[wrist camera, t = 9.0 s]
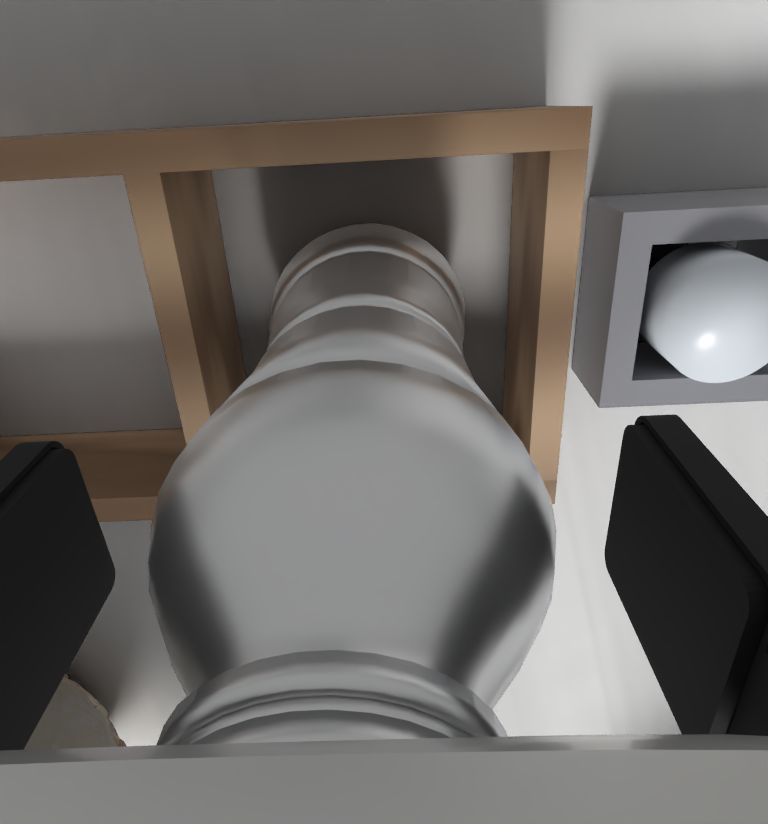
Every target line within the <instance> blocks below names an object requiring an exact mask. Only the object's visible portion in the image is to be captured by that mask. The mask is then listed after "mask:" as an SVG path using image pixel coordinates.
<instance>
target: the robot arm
mask: <svg viewBox="0 0 768 824" xmlns="http://www.w3.org/2000/svg"><path fill="white" fill-rule="evenodd" d="M605 562H606V567H607V570H608V573H609V575H610V577H611V579H612V581H613V584H614V586H615V588H616V590H617V592H618V595H619V597H620V599H621V601H622V603H623V606H624V608H625V610H626V612H627V614H628V616H629V619H630V621H631V623H632V625H633V627H634V630H635V632H636V634H637V636H638V638H639V641H640V643H641V645H642V647H643V649H644V652H645V654H646V656H647V658H648V660H649V663H650V665H651V667H652V669H653V671H654V674H655V676H656V678H657V680H658V682H659V685H660V687H661V689H662V691H663V693H664V696H665V698H666V700H667V702H668V704H669V707H670V709H671V711H672V713H673V715H674V718H675V720H676V722H677V724H678V726H679V729H680V731H681V733H682V735H567V736H519V737H472V738H424V739H380V740H342V741H303V742H265V743H229V744H193V745H157V746H126V747H96V748H65V749H34V750H24V748H25V746H26V744H27V742H28V741H29V739H30V737H31V735H32V733H33V732H34V730H35V728H36V726H37V724H38V723H39V721H40V719H41V717H42V715H43V713H44V712H45V710H46V708H47V706H48V704H49V703H50V701H51V699H52V697H53V695H54V693H55V692H56V690H57V688H58V686H59V684H60V683H61V681H62V679H63V677H64V675H65V673H66V672H67V670H68V668H69V666H70V664H71V663H72V661H73V659H74V657H75V655H76V653H77V652H78V650H79V648H80V646H81V644H82V643H83V641H84V639H85V637H86V635H87V633H88V632H89V630H90V628H91V626H92V624H93V623H94V621H95V619H96V617H97V615H98V614H99V612H100V610H101V608H102V606H103V604H104V603H105V601H106V599H107V597H108V595H109V594H110V592H111V590H112V588H113V585H114V581H115V568H114V565H113V562H112V559H111V556H110V553H109V550H108V548H107V545H106V542H105V539H104V536H103V533H102V531H101V528H100V525H99V522H98V519H97V516H96V514H95V511H94V508H93V505H92V502H91V499H90V497H89V494H88V491H87V488H86V485H85V482H84V480H83V477H82V474H81V471H80V468H79V465H78V463H77V460H76V457H75V455H74V453H73V452H72V451H71V450H70V449H65V448H64V446H63V445H62V444H61V443H60V442H57V441H40V442H22V443H19V444H18V445H16V446H15V447H14V448H13V449H12V450H11V451H10V452H9V453H8V454H7V455H6V456H4V457H3V458H2V459H1V460H0V824H768V516H767V515H766V514H765V513H764V512H763V511H762V510H761V508H760V507H759V506H758V505H757V504H756V503H755V502H754V501H753V499H752V498H751V497H750V496H749V495H748V494H747V493H746V492H745V490H744V489H743V488H742V487H741V486H740V485H739V484H738V483H737V481H736V480H735V479H734V478H733V477H732V476H731V475H730V473H729V472H728V471H727V470H726V469H725V468H724V467H723V466H722V464H721V463H720V462H719V461H718V460H717V459H716V458H715V457H714V455H713V454H712V453H711V452H710V451H709V450H708V449H707V448H706V446H705V445H704V444H703V443H702V442H701V441H700V440H699V438H698V437H697V436H696V435H695V434H694V433H693V432H692V431H691V429H690V428H689V427H688V426H687V425H686V424H685V423H684V422H683V420H682V419H681V418H680V417H678V416H677V415H654V416H640V417H638V418H637V420H636V422H635V425H628V426H627V427H626V428H625V430H624V434H623V440H622V446H621V453H620V459H619V465H618V471H617V477H616V484H615V490H614V496H613V502H612V508H611V515H610V521H609V527H608V533H607V540H606V546H605Z"/></svg>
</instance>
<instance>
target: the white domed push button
mask: <svg viewBox="0 0 768 824" xmlns="http://www.w3.org/2000/svg"><path fill="white" fill-rule="evenodd" d="M639 332H640V334H641V335H642V337H643V338H644V339H645V340H646V341H647V342H648V343H649V344H650V345H651V346H652V347H653V348H654V349H655V350H656V351H658V352H659V353H660V354H661V355H662V356H663V357H664V358H665V359H666V360H667V361H669V362H670V363H671V364H672V365H673V366H674V367H675V368H676V369H677V370H678V371H680V372H681V373H682V374H684V375H685V376H687V377H689V378H691V379H693V380H696V381H700V382H706V383H723V382H729V381H734V380H737V379H740V378H743V377H745V376H747V375H750V374H751V373H753V372H755V371H757V370H759V369H760V368H761V367H763V366H764V365H766V364H767V363H768V262H767V261H765V260H762V259H760V258H757V257H755V256H752V255H750V254H748V253H745V252H743V251H740V250H738V249H735V248H733V247H731V246H728V245H725V244H722V243H718V242H696V243H692V244H688V245H686V246H683V247H680V248H678V249H676V250H674V251H672V252H671V253H669V254H668V255H666V256H665V257H663V258H662V259H661V260H660V261H659V262H658V263H657V264H656V265H655V266H654V267H653V268H652V269H651V270H650V271H649V272H648V276H647V283H646V289H645V296H644V303H643V309H642V316H641V322H640V329H639Z"/></svg>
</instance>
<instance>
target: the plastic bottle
mask: <svg viewBox="0 0 768 824" xmlns="http://www.w3.org/2000/svg"><path fill="white" fill-rule="evenodd" d="M269 336H270V339H269V344H268V348H267V351H266V352H265V354H264V355H263V357H262V358H261V360H260V362H259V363H258V365H257V366H256V368H255V370H254V371H253V373H252V374H251V375H250V376H249V377H248V378H247V379H246V380H245V381H244V382H243V383H242V384H241V385H240V386H239V388H238V389H237V390H236V391H235V392H234V393H233V394H232V395H231V396H230V397H229V398H228V399H227V400H226V401H225V402H224V403H223V404H222V405H221V406H220V407H219V408H218V409H217V410H216V411H215V412H214V413H213V414H212V415H211V416H210V418H209V419H208V420H207V421H206V422H205V423H204V424H203V426H202V427H201V428H200V429H199V430H198V431H197V432H196V433H195V435H194V436H193V437H192V439H191V440H190V442H189V443H188V444H187V446H186V447H185V449H184V450H183V451H182V453H181V454H180V455H179V456H178V458H177V459H176V460H175V462H174V464H173V466H172V467H171V469H170V471H169V473H168V475H167V477H166V479H165V481H164V483H163V485H162V486H161V488H160V490H159V493H158V497H157V502H156V506H155V510H154V514H153V519H152V524H151V537H150V549H149V562H148V565H149V592H150V596H151V599H152V602H153V606H154V609H155V612H156V615H157V619H158V622H159V625H160V628H161V632H162V635H163V638H164V641H165V645H166V648H167V651H168V654H169V658H170V661H171V664H172V667H173V669H174V671H175V673H176V675H177V677H178V679H179V681H180V683H181V685H182V687H183V689H184V691H185V693H186V695H187V697H186V698H185V699H184V700H183V701H182V702H181V703H179V704H178V705H177V707H176V708H175V710H174V711H173V713H172V714H171V716H170V717H169V719H168V720H167V722H166V723H165V724H164V727H163V729H162V732H161V735H160V737H159V740H158V743H157V745H193V744H229V743H265V742H303V741H342V740H380V739H424V738H472V737H507V734H506V731H505V729H504V728H503V726H502V724H501V723H500V721H499V720H498V718H497V716H496V715H495V713H494V711H493V710H492V709H493V708H494V707H495V705H496V704H497V702H498V701H499V700H500V698H501V697H502V695H503V694H504V692H505V691H506V689H507V688H508V687H509V685H510V684H511V682H512V681H513V679H514V678H515V676H516V675H517V673H518V672H519V670H520V668H521V666H522V664H523V662H524V660H525V658H526V656H527V654H528V652H529V650H530V648H531V646H532V644H533V642H534V640H535V638H536V636H537V634H538V633H539V631H540V629H541V626H542V624H543V621H544V618H545V616H546V613H547V610H548V608H549V605H550V602H551V599H552V589H553V580H554V569H555V545H556V526H555V520H554V514H553V508H552V502H551V498H550V496H549V493H548V491H547V489H546V487H545V484H544V482H543V480H542V478H541V475H540V473H539V471H538V469H537V467H536V465H535V464H534V462H533V461H532V459H531V457H530V456H529V454H528V452H527V450H526V448H525V446H524V445H523V443H522V441H521V440H520V439H519V437H518V436H517V435H516V434H515V432H514V431H513V430H512V428H511V427H510V426H509V425H508V423H507V422H506V421H505V419H504V418H503V417H502V416H501V415H500V414H499V412H498V411H497V410H496V408H495V407H494V406H493V405H492V403H491V402H490V401H489V399H488V398H487V397H486V396H485V394H484V393H483V392H482V390H481V389H480V388H479V387H478V385H477V384H476V383H475V381H474V378H473V376H472V374H471V372H470V370H469V368H468V366H467V364H466V362H465V359H464V354H463V341H464V337H465V303H464V298H463V293H462V288H461V286H460V283H459V281H458V279H457V276H456V274H455V272H454V270H453V269H452V267H451V266H450V265H449V263H448V262H447V260H446V259H445V258H444V256H443V255H442V254H441V253H440V252H439V251H437V250H436V249H435V248H434V247H433V246H432V245H431V244H430V243H429V242H427V241H425V240H423V239H422V238H420V237H418V236H417V235H415V234H413V233H411V232H408V231H405V230H402V229H399V228H396V227H393V226H390V225H383V224H374V223H368V224H354V225H349V226H346V227H342V228H339V229H335V230H331V231H329V232H327V233H325V234H324V235H322V236H320V237H318V238H316V239H314V240H312V241H311V242H310V243H309V244H307V245H306V246H305V247H303V248H302V249H301V250H300V251H298V252H297V254H296V255H295V256H294V257H293V258H292V260H291V261H290V262H289V263H288V264H287V265H286V267H285V269H284V270H283V272H282V274H281V276H280V278H279V280H278V282H277V284H276V287H275V291H274V294H273V298H272V301H271V310H270V321H269Z"/></svg>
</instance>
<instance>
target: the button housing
mask: <svg viewBox="0 0 768 824" xmlns="http://www.w3.org/2000/svg"><path fill="white" fill-rule="evenodd" d="M734 240H739V241H738V245H737V249H738V250H740V251H743V252H745V253H748V254H750V255H752V256H755V257H757V258H760V259H762V260H765V261H767V262H768V187H762V188H744V189H725V190H706V191H688V192H669V193H650V194H632V195H613V196H595V197H589V200H588V210H587V220H586V230H585V240H584V251H583V261H582V271H581V281H580V291H579V301H578V311H577V321H576V331H575V341H574V351H573V361H572V370H573V371H574V373H575V374H576V376H577V377H578V378H579V380H580V381H581V383H582V384H583V386H584V387H585V388H586V390H587V391H588V393H589V394H590V396H591V397H592V398H593V400H594V401H595V403H596V404H597V406H598V407H599V408H609V407H632V406H655V405H677V404H700V403H723V402H746V401H768V363H767V364H766V365H764V366H763V367H761V368H760V369H759V370H757V371H755V372H753V373H751V374H750V375H747V376H745V377H743V378H740V379H737V380H734V381H729V382H723V383H706V382H700V381H696V380H693V379H691V378H689V377H687V376H685V375H684V374H682V373H681V372H680V371H678V370H677V369H676V368H675V367H674V366H673V365H672V364H671V363H670V362H669V361H667V360H666V359H665V358H664V357H663V356H662V355H661V354H660V353H659V352H658V351H656V350H655V349H654V348H653V347H652V346H651V345H650V344H649V343H648V342H640V343H637V342H638V336H639V329H640V322H641V316H642V309H643V303H644V296H645V289H646V283H647V276H648V269H649V263H650V256H651V249H652V245H656V244H676V243H695V242H715V241H734Z"/></svg>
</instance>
